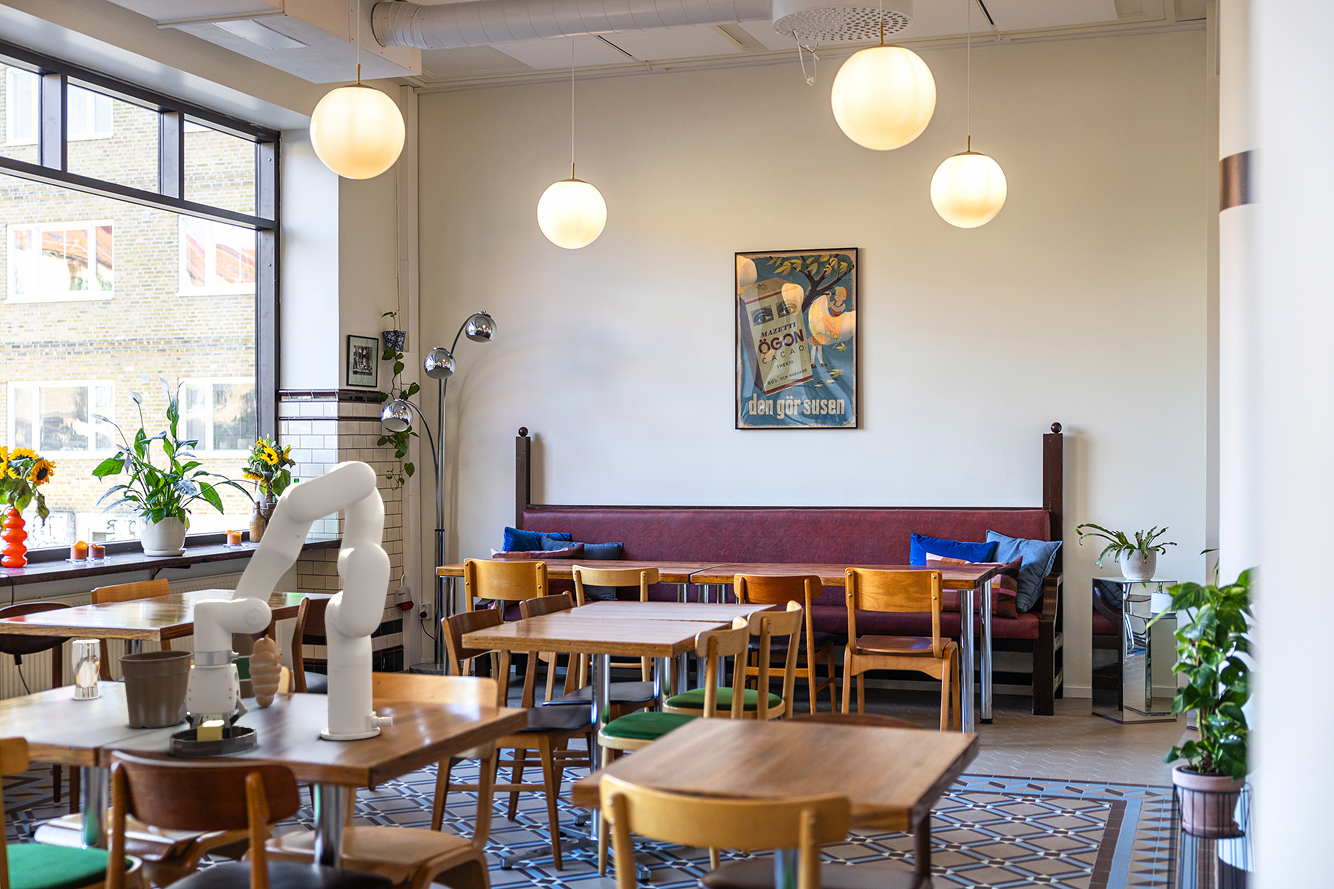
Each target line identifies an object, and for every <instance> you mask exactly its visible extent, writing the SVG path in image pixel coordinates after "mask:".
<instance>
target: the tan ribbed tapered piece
mask: <svg viewBox="0 0 1334 889" xmlns="http://www.w3.org/2000/svg"><path fill="white" fill-rule="evenodd" d="M281 662H282V656H281V654H280V652H279V651H278V647H277V643H276V642H275V641H274V640H273V639H272V638H270V637H269V634H268V633H267V634H265V636H264V637H262V638H259V639H257V640H256V641H255V644H254V647H253V654H252V655H251V656H250V659H249V663H250V667H249V673H250V675H251V683H252V685H253V692H254V693H255V694H256V696H255V701H256V703H257V705H258V706H259V707H261V708H268V707H270V706H271V705H272V704H273V702H274V701H275V695H276V694H277V692H278V691H279V684H280V681H281V675H280V674H281V672H282V668H283V666H282V664H281Z"/></svg>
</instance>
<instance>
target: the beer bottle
mask: <svg viewBox="0 0 1334 889" xmlns="http://www.w3.org/2000/svg"><path fill="white" fill-rule="evenodd" d="M255 642H256V641H255V640H254V638H253V637H252V636H251V634H248V633H233V635H232V649H233V652H235V653H239V658H238V659H235V660H233V662H232V664H236V666H237V671H238V677H239V686H240V699H246V698H247V699H248V698H249V699H250V698H253V697H256V694H255V693H254V692H253V685H252V683H251V675H250V673H249V667H250V663H249V659H250V656H251V655H252V654H253V647H254V644H255Z"/></svg>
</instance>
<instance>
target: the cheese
mask: <svg viewBox="0 0 1334 889" xmlns="http://www.w3.org/2000/svg"><path fill="white" fill-rule="evenodd" d="M223 728H224V722H223V720H222V721H207V722H205V723H203V724H202V725H200V726H198V727H197V741H208V740H220V739H222V729H223Z"/></svg>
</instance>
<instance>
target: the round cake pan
mask: <svg viewBox="0 0 1334 889" xmlns="http://www.w3.org/2000/svg"><path fill="white" fill-rule="evenodd" d="M168 736H169V737H168V752H169V754H171V755H174V756H179V757H213V756H223V755H231V754H237V753H241V752H245V751H249V750H253V749H254V748H256V746H258V730H257V728H255V727H252V726H248V725H233V726H232V738H228V739H220V740H208V741H195V729H190V728H188V729H184V730H180V731H176V732H173V733H171V734H169V735H168Z"/></svg>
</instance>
